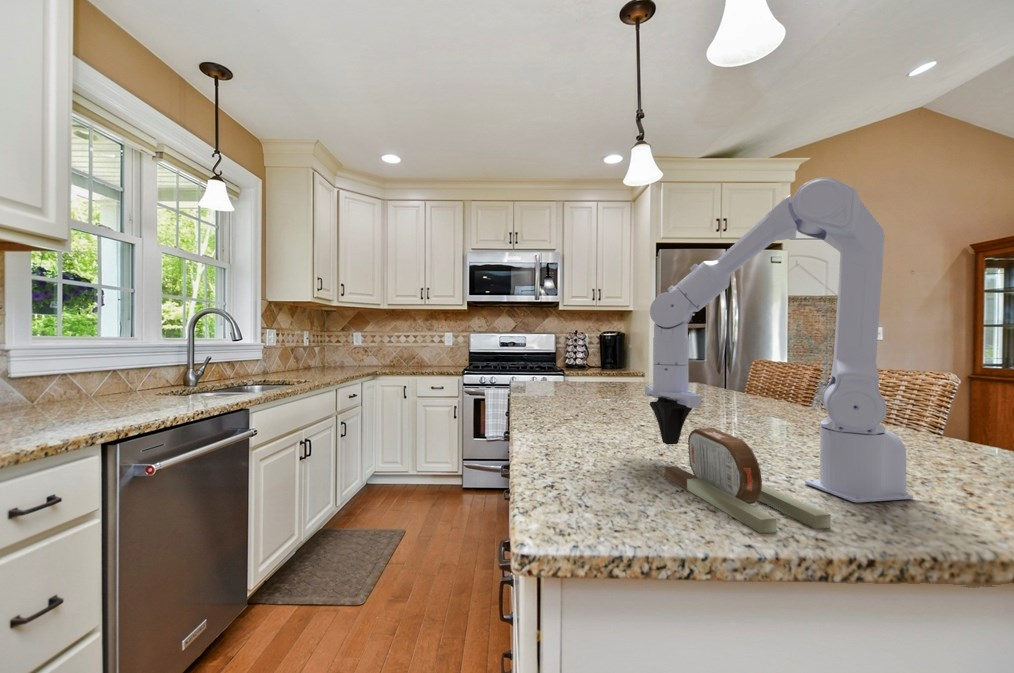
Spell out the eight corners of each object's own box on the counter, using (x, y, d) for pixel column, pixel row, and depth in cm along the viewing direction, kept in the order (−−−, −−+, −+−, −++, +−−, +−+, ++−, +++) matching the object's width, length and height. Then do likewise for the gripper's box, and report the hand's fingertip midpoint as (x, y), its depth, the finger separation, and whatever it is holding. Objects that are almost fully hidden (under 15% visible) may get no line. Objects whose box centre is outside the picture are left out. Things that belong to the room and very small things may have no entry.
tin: (764, 514, 53) (764, 445, 53) (739, 514, 53) (739, 445, 53) (703, 475, 68) (703, 422, 68) (684, 476, 68) (684, 422, 68)
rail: (716, 473, 69) (716, 464, 69) (830, 527, 49) (830, 514, 49) (664, 476, 67) (664, 466, 67) (760, 533, 47) (760, 519, 47)
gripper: (629, 362, 80) (629, 434, 80) (672, 367, 66) (671, 455, 66) (664, 362, 82) (664, 433, 82) (713, 367, 67) (713, 453, 67)
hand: (670, 443), depth 74 cm, fingers closed
